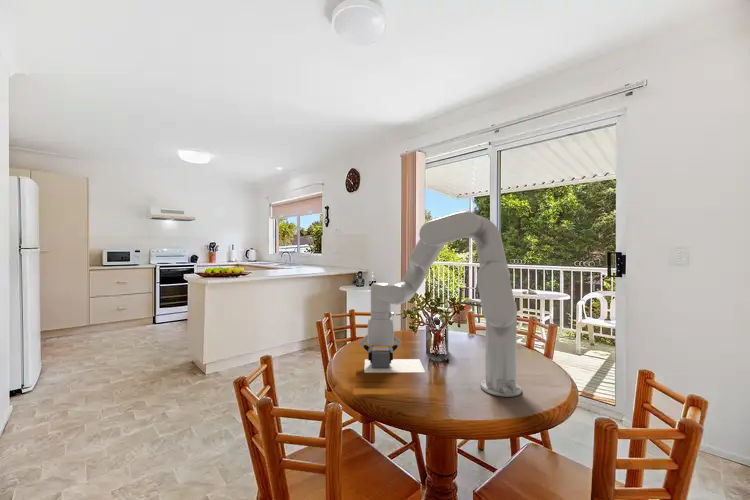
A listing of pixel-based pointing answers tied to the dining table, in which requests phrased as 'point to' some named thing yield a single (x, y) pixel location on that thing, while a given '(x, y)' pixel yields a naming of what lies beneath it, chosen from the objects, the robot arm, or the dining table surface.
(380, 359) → the dark grey box
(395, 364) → the hub board
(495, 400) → the dining table surface
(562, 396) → the dining table surface
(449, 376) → the dining table surface
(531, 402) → the dining table surface
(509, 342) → the robot arm
